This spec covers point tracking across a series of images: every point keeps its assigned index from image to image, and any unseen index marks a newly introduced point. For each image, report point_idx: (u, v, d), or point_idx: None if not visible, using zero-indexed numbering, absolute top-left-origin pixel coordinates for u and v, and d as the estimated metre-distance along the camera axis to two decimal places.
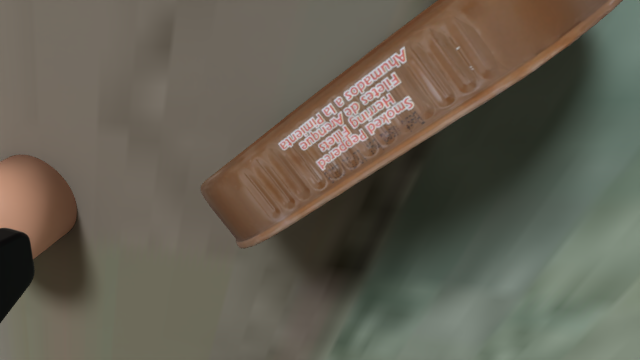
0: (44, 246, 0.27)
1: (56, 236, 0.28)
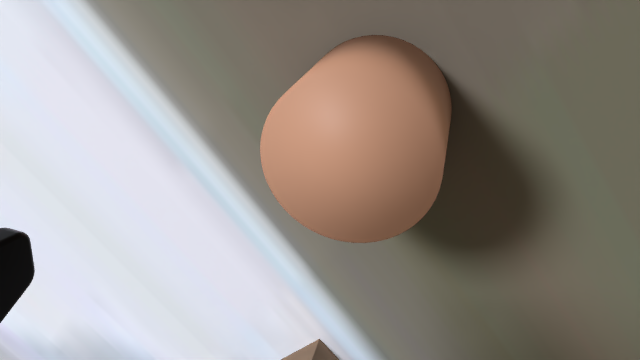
0: (445, 117, 0.15)
1: (446, 105, 0.16)
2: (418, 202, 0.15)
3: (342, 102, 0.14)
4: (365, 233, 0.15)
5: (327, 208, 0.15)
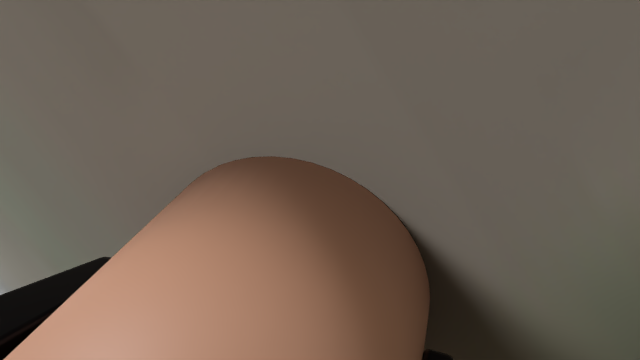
0: None
1: (414, 327, 0.07)
2: None
3: None
4: None
5: None
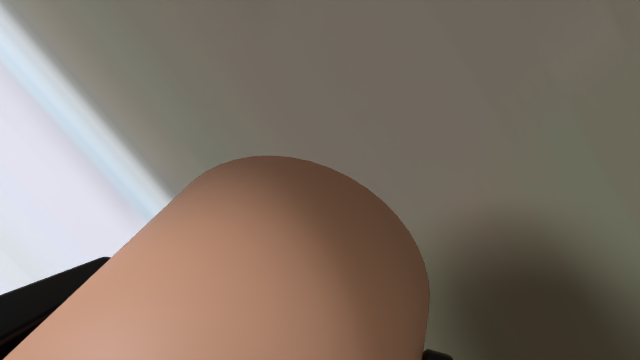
0: None
1: (413, 326, 0.08)
2: None
3: None
4: None
5: None
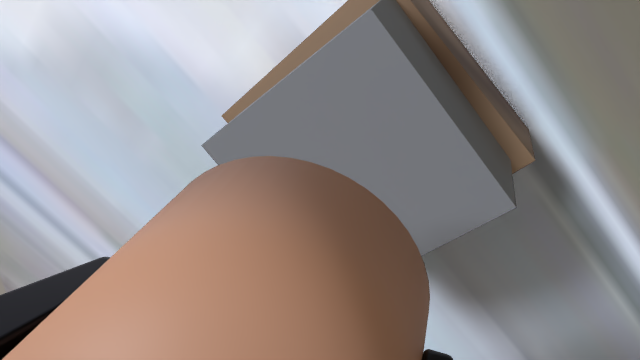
0: None
1: (413, 327, 0.07)
2: None
3: None
4: None
5: None
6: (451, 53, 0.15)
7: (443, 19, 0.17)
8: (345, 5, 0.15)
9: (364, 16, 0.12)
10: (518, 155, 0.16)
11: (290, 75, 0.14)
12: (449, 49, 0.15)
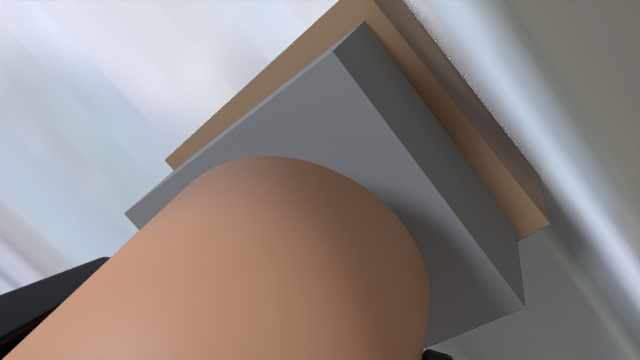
0: None
1: (413, 327, 0.07)
2: None
3: None
4: None
5: None
6: (444, 91, 0.12)
7: None
8: (310, 29, 0.12)
9: (324, 60, 0.09)
10: (529, 217, 0.13)
11: (230, 132, 0.10)
12: (442, 86, 0.12)
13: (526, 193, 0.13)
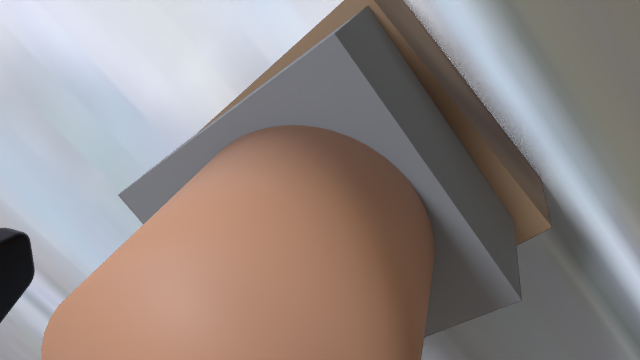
0: (418, 312, 0.08)
1: (422, 273, 0.09)
2: None
3: (186, 327, 0.06)
4: None
5: None
6: (447, 94, 0.12)
7: (438, 46, 0.14)
8: (312, 32, 0.12)
9: (325, 43, 0.09)
10: (530, 220, 0.13)
11: (228, 114, 0.10)
12: (444, 89, 0.12)
13: (528, 196, 0.13)
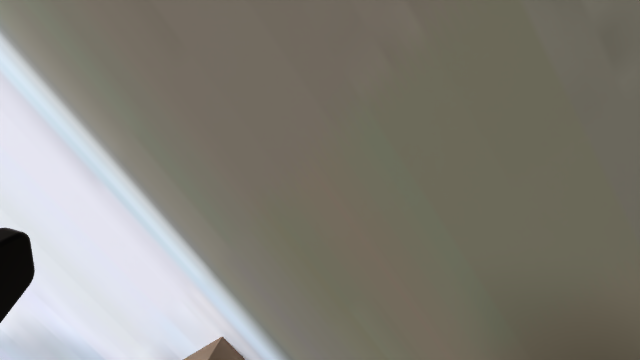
0: None
1: None
2: None
3: None
4: None
5: None
6: None
7: None
8: None
9: None
10: None
11: None
12: None
13: None
